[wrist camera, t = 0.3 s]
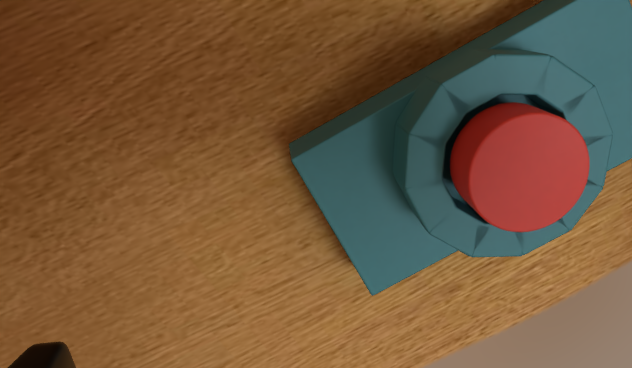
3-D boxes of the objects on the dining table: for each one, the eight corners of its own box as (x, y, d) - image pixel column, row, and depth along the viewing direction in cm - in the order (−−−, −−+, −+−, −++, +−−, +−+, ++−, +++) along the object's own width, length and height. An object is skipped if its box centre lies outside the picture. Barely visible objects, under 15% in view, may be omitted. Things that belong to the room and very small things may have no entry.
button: (476, 231, 18) (497, 253, 17) (430, 138, 17) (447, 152, 16) (576, 178, 18) (607, 195, 16) (535, 80, 17) (565, 88, 15)
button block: (365, 274, 23) (385, 329, 19) (284, 138, 21) (289, 168, 17) (638, 128, 22) (716, 154, 18) (581, -30, 20) (656, -37, 16)
